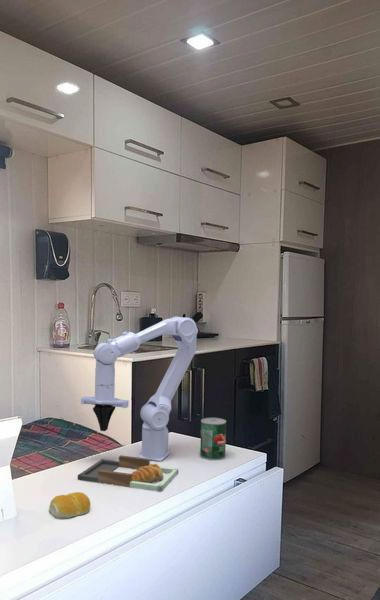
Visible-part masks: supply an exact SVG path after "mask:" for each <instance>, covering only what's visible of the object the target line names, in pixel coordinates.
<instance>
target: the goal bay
mask: <svg viewBox="0 0 380 600" xmlns="http://www.w3.org/2000/svg"><path fill="white" fill-rule="evenodd" d="M159 466H160V465H159ZM160 468H161V471H162V473H163V474H168V475H167V476H166V477H164V478H163V479H162V480H161V481H160V483H159V484H157V483H144V482H137V481H131V482H130V487H129V488H132V487H133V488H135V489H139V488H140V490H147V489H148V491H154V490H155V491H154V492H162V491H163V490H164V489H165V488H166V487H167V486H168V485H169V484H170V483H171V481H172V480H173V479H174V478H175V477H176V476H177V474H179V468H175V467H167V466H160Z"/></svg>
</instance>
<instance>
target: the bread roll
mask: <svg viewBox="0 0 380 600" xmlns="http://www.w3.org/2000/svg"><path fill="white" fill-rule="evenodd" d="M90 509H91V500H90V497H89V496H88V495H87V494H85V492H80V491H79V492H78V491H77V492H71V493H70V492H69V493H67V494H60V495H56V496H54V497H53V498H52V499H51V500H50V503H49V507H48V512H49V513H50V514H51V516H53V517H54V518H57V519H70V518H75V517H78V516H83V515H84V514H86V513H88V512H89V510H90Z"/></svg>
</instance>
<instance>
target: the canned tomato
mask: <svg viewBox="0 0 380 600" xmlns="http://www.w3.org/2000/svg"><path fill="white" fill-rule="evenodd" d="M226 434H227V420H226V419H224V418H219V417H204V418H201V420H200V449H199V451H200V452H199V456H200V458H201V459H205V460H208V461H209V460H210V461H219V460H223V459H225V458H226V451H227V450H226V442H227V440H226V439H227V435H226Z"/></svg>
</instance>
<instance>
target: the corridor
mask: <svg viewBox="0 0 380 600" xmlns="http://www.w3.org/2000/svg"><path fill="white" fill-rule="evenodd" d="M118 461H119V467H118V468H123V469H124V468H125V469H132V470H138V469H139V468H140V467H143V466H149V465H151V460H150V459H147V458H139V457H137V456H131V455H130V456H128V455H119V456H118ZM131 481H132V474H131V473H128V472H121V471H115V470H114V471H106V470H99V471H98V483H99V484H104V483H106V485H111V484H113V485H112V486H118V487H120V486H121V487H126V488H131V487H130V482H131ZM98 483H97V484H98Z"/></svg>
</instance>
